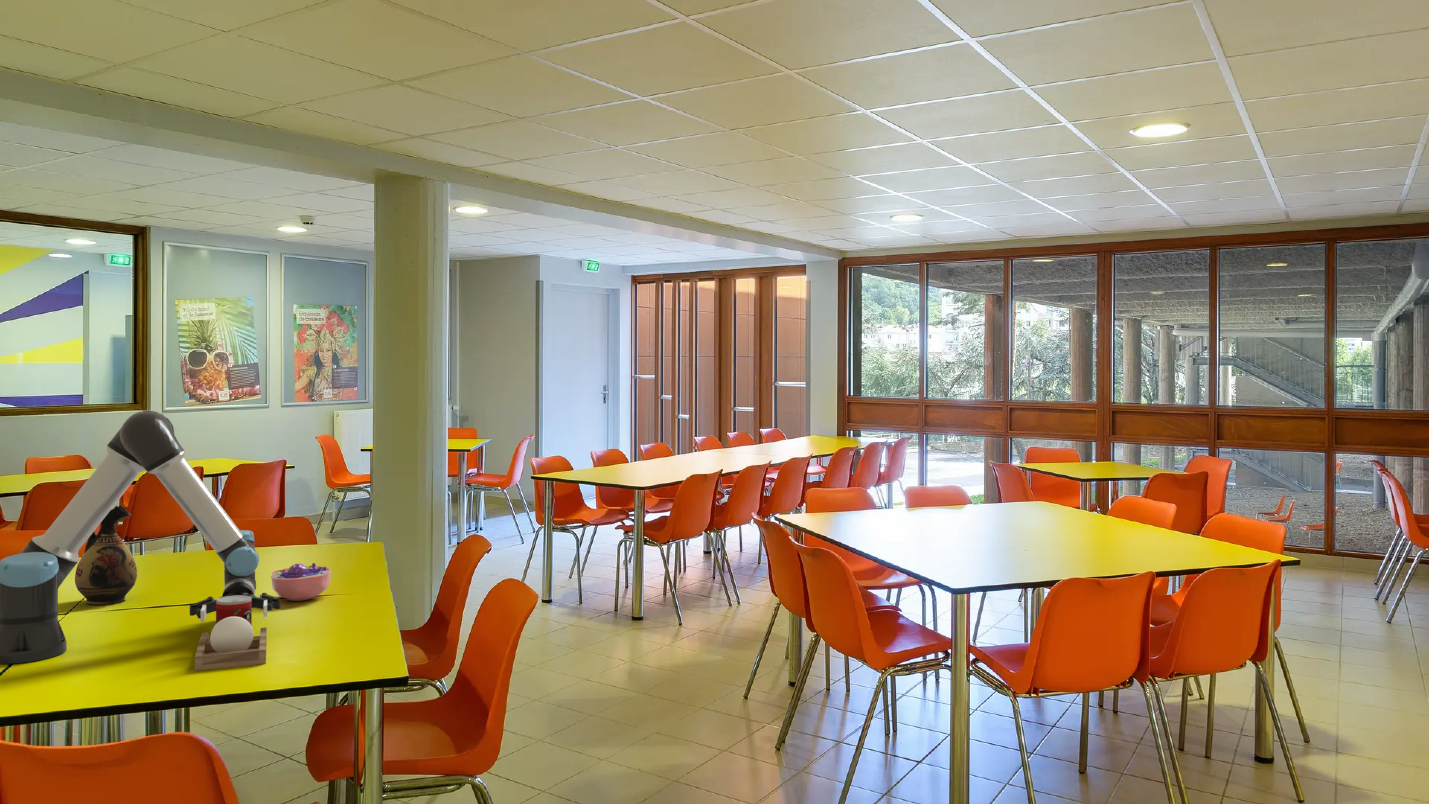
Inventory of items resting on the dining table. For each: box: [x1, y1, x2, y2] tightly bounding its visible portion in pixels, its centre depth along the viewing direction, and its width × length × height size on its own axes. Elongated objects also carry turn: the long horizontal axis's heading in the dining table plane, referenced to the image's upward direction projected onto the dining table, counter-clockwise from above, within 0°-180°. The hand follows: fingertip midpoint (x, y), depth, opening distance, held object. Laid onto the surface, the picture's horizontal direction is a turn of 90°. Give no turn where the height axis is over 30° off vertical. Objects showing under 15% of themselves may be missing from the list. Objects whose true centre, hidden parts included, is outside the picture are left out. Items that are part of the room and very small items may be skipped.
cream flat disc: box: [209, 616, 255, 653], centre depth 216 cm, size 1×9×9 cm, turn 116°
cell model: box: [270, 562, 332, 602], centre depth 279 cm, size 17×20×11 cm
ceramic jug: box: [74, 505, 138, 606], centre depth 272 cm, size 17×15×30 cm
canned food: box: [215, 595, 253, 627], centre depth 226 cm, size 8×8×11 cm
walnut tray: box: [194, 626, 268, 672], centre depth 220 cm, size 22×14×3 cm, turn 26°
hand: (234, 613), depth 224 cm, fingers open, 13 cm apart
